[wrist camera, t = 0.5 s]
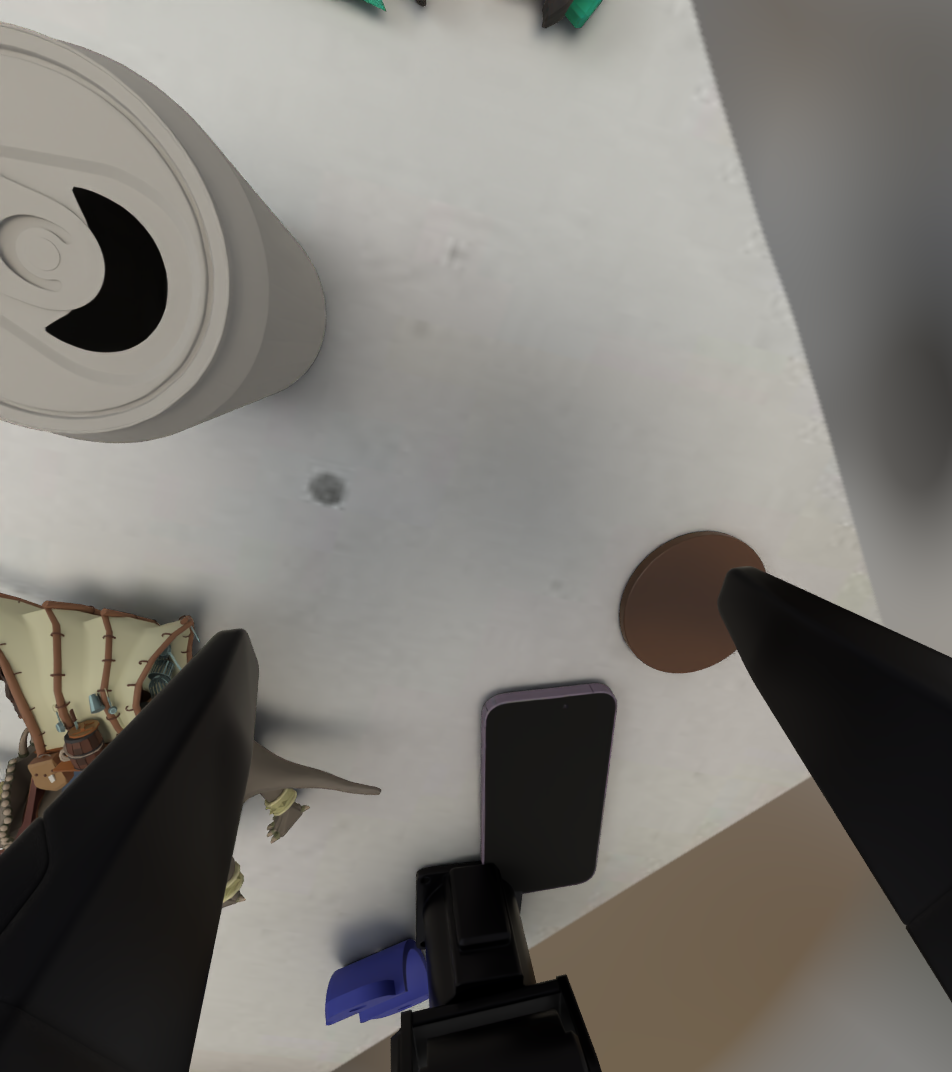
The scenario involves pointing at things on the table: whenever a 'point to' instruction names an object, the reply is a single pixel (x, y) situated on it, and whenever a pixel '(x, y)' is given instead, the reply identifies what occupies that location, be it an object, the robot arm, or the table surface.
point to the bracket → (378, 984)
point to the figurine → (108, 708)
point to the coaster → (682, 602)
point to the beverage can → (133, 258)
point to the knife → (547, 10)
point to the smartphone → (545, 783)
